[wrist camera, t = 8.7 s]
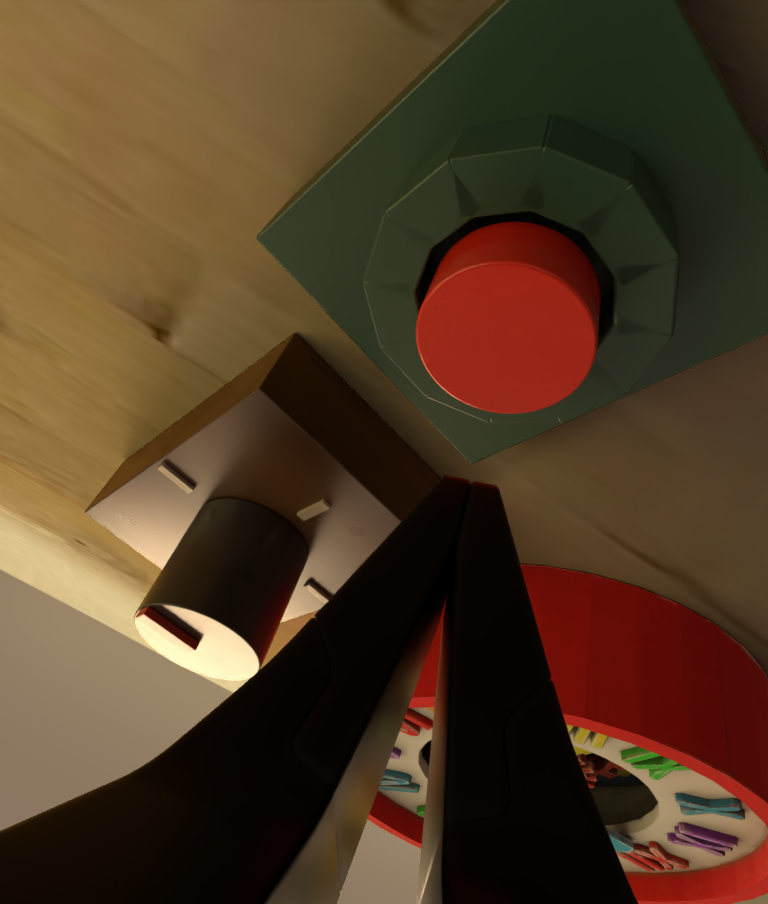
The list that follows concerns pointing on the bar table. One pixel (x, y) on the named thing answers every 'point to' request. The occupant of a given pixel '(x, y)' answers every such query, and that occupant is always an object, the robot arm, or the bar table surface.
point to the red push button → (510, 318)
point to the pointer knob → (224, 590)
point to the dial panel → (274, 470)
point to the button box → (549, 198)
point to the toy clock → (635, 737)
